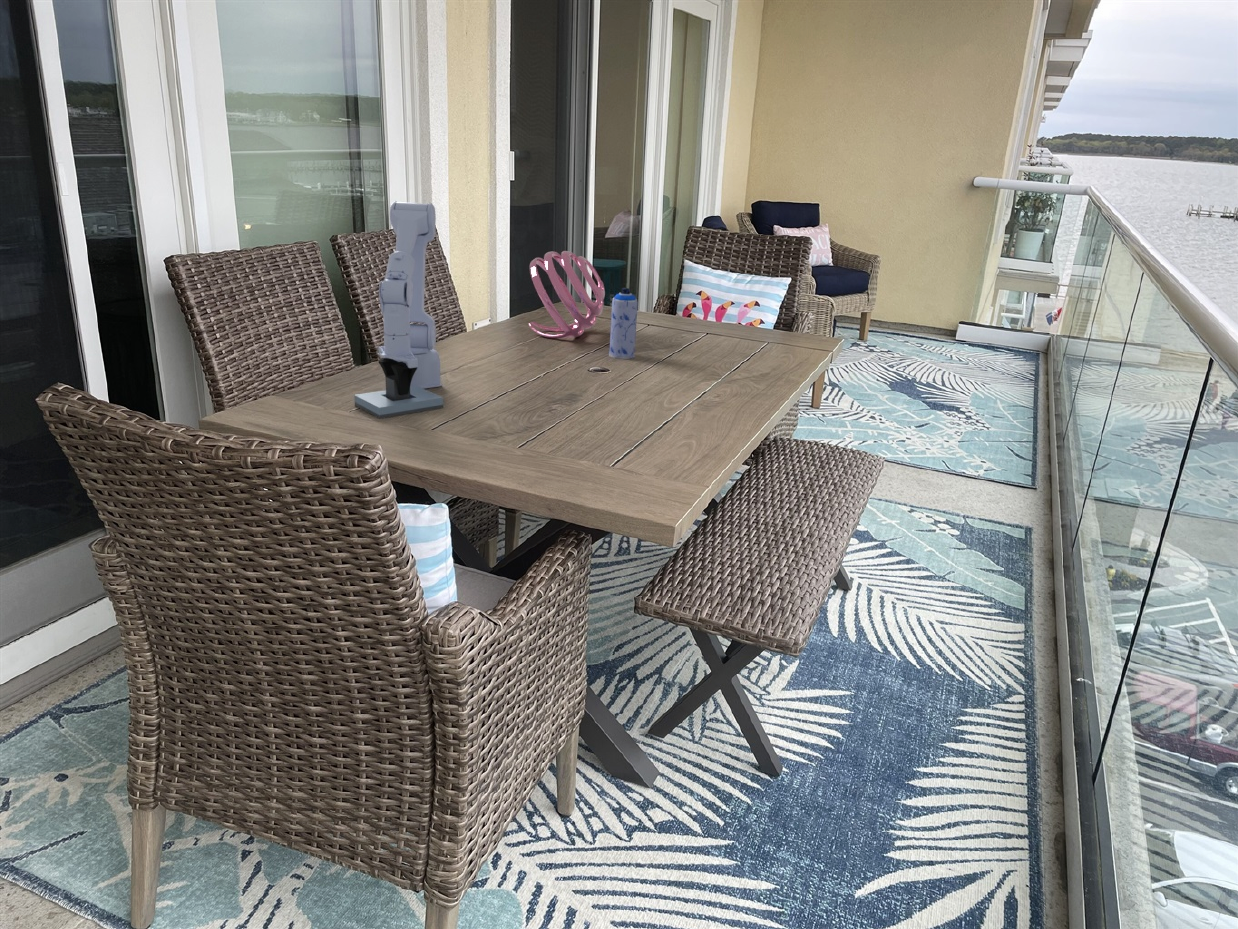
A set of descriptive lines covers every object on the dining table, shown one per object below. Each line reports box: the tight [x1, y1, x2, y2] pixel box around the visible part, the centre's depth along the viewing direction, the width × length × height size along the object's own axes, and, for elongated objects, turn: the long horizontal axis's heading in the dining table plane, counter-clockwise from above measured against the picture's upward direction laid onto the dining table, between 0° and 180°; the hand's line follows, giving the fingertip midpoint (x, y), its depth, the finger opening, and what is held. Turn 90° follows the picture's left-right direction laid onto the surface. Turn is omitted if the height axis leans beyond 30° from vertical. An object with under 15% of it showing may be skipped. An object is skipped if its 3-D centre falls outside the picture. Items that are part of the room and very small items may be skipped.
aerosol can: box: [608, 287, 639, 360], centre depth 264 cm, size 8×8×20 cm
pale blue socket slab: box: [354, 386, 444, 419], centre depth 206 cm, size 16×12×2 cm
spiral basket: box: [528, 250, 606, 340], centre depth 286 cm, size 28×28×27 cm
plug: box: [384, 375, 410, 401], centre depth 205 cm, size 4×4×5 cm
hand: (398, 392), depth 205 cm, fingers closed on plug, 4 cm apart
